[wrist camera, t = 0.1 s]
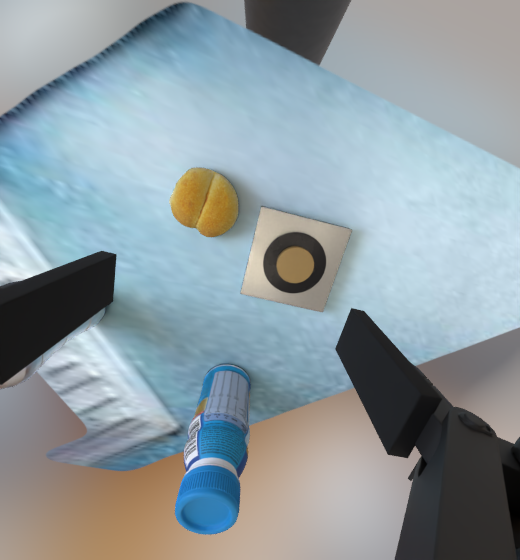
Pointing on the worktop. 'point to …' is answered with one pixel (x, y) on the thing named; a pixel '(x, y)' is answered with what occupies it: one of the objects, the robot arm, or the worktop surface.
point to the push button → (294, 259)
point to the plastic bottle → (51, 352)
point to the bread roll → (205, 202)
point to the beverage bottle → (216, 453)
